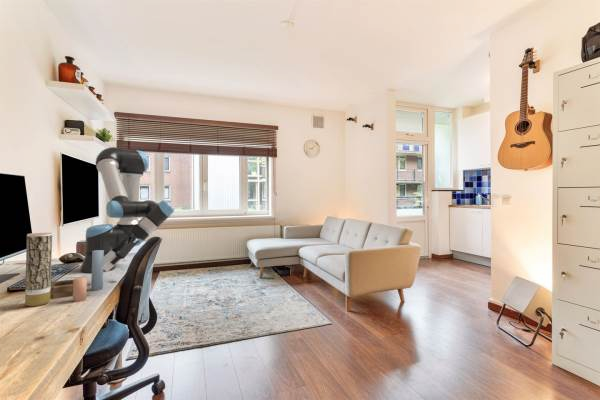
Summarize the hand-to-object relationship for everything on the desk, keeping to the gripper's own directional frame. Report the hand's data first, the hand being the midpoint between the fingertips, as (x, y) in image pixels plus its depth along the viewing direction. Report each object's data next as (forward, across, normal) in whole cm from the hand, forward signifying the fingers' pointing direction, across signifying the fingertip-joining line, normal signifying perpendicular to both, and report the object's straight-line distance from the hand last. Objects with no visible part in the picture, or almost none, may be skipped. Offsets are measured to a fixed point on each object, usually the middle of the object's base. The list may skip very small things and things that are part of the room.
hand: (102, 266), depth 124 cm
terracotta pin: (+12, -11, -1) cm, 16 cm away
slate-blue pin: (+8, +1, -6) cm, 10 cm away
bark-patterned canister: (+21, -7, +7) cm, 23 cm away
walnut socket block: (+16, +2, +2) cm, 16 cm away
